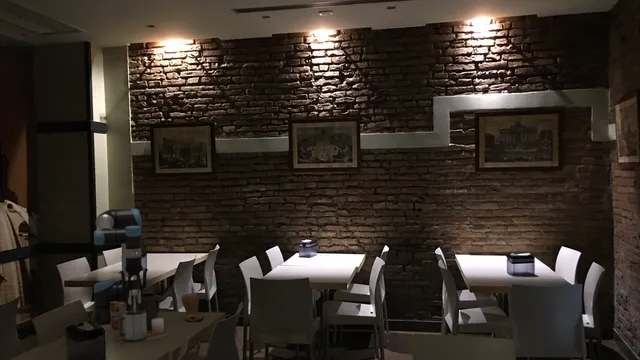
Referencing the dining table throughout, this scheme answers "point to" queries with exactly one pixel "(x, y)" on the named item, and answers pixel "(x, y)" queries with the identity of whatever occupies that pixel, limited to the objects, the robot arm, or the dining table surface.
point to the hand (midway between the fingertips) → (134, 303)
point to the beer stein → (149, 308)
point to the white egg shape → (157, 326)
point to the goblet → (134, 293)
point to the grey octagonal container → (133, 326)
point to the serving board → (149, 337)
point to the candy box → (117, 313)
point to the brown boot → (191, 307)
